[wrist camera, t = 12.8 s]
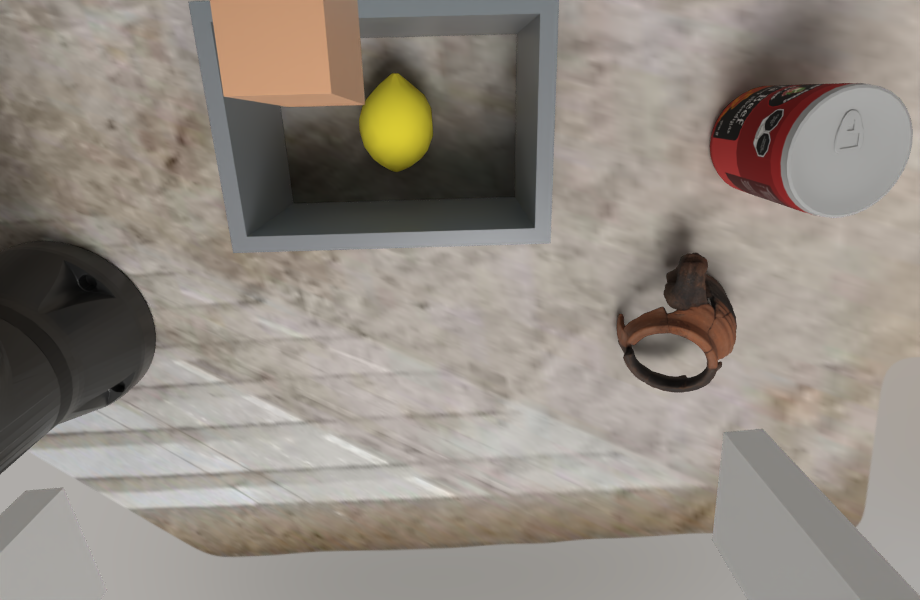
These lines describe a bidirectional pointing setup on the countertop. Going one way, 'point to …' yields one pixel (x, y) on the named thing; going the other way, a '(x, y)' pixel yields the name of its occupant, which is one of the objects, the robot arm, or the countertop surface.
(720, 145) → the canned food
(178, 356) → the countertop surface
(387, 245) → the tub
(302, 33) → the lid
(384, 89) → the lemon
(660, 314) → the broken clay pot
